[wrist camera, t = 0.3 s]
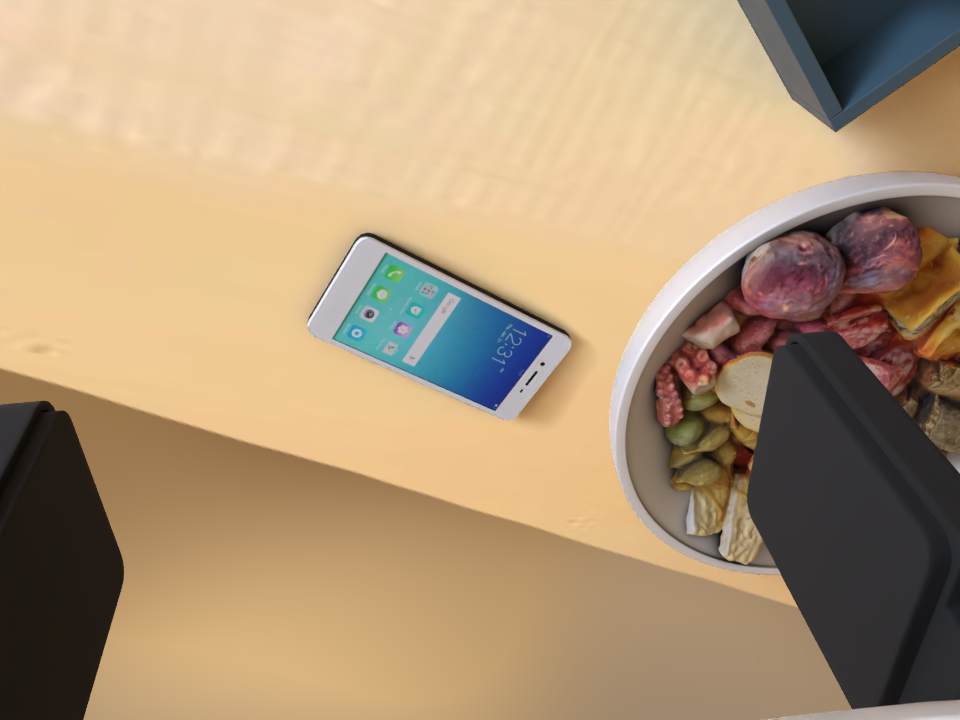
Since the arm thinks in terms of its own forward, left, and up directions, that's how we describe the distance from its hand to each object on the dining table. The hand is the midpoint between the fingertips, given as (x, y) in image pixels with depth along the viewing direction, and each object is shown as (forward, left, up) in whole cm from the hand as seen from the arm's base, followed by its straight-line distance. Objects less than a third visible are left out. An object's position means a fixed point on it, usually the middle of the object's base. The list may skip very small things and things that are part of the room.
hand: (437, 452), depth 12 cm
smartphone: (+18, -11, -36) cm, 42 cm away
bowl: (+37, +6, -36) cm, 52 cm away
